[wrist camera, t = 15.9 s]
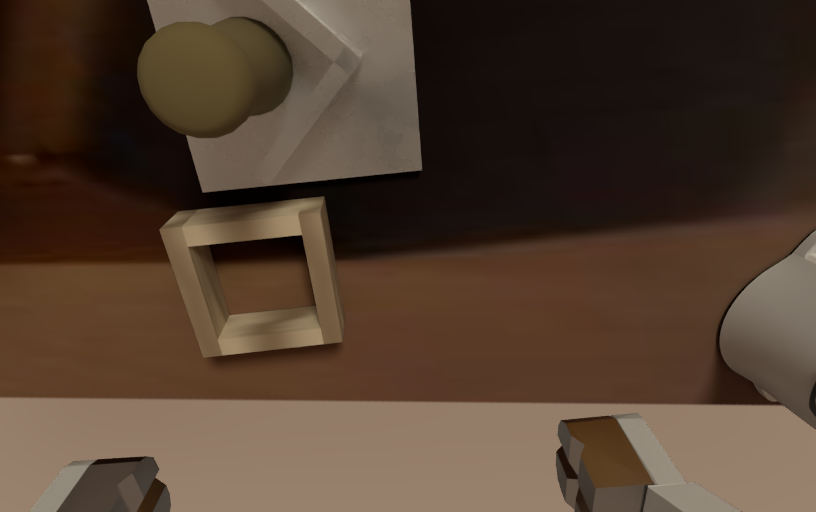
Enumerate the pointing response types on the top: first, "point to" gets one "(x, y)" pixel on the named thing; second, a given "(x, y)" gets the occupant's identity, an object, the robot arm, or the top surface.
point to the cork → (214, 74)
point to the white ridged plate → (317, 94)
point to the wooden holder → (204, 293)
